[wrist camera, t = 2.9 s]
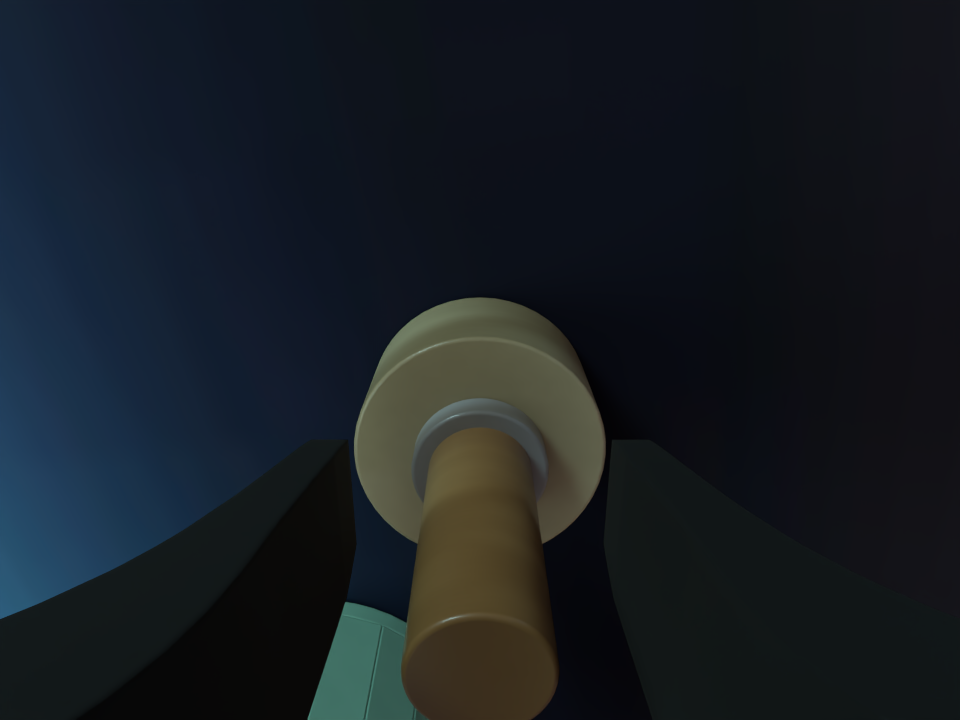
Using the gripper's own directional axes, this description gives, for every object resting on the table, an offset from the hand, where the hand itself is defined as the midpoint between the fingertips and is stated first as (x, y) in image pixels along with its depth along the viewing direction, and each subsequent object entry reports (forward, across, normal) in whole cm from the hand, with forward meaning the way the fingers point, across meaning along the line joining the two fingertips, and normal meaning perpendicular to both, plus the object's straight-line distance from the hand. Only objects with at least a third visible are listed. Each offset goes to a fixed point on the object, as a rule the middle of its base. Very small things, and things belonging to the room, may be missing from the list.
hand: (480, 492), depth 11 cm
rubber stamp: (+4, 0, 0) cm, 4 cm away
